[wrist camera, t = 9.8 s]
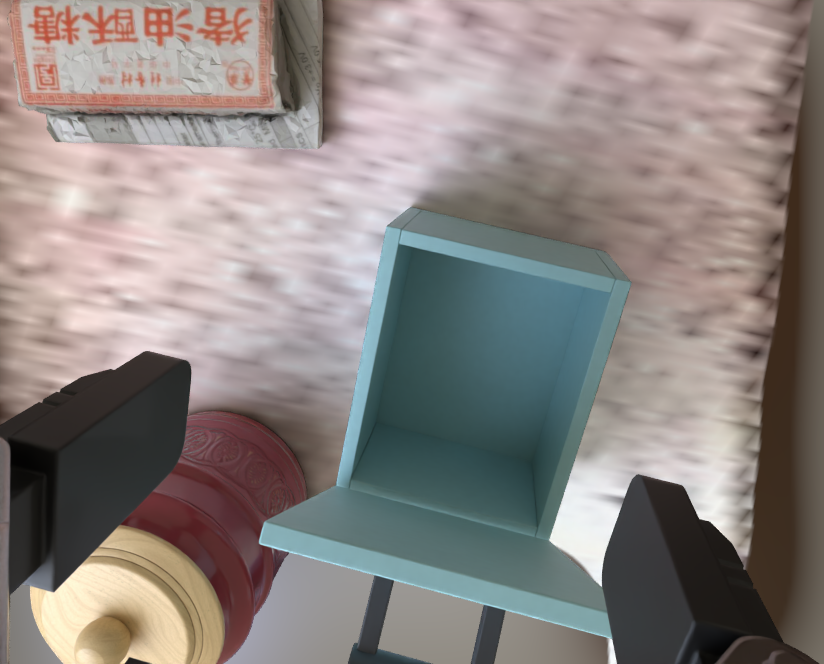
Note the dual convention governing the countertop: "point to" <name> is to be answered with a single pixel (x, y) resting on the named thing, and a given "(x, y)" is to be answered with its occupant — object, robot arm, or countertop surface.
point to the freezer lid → (438, 565)
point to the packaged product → (173, 71)
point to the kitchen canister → (182, 556)
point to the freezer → (479, 369)
